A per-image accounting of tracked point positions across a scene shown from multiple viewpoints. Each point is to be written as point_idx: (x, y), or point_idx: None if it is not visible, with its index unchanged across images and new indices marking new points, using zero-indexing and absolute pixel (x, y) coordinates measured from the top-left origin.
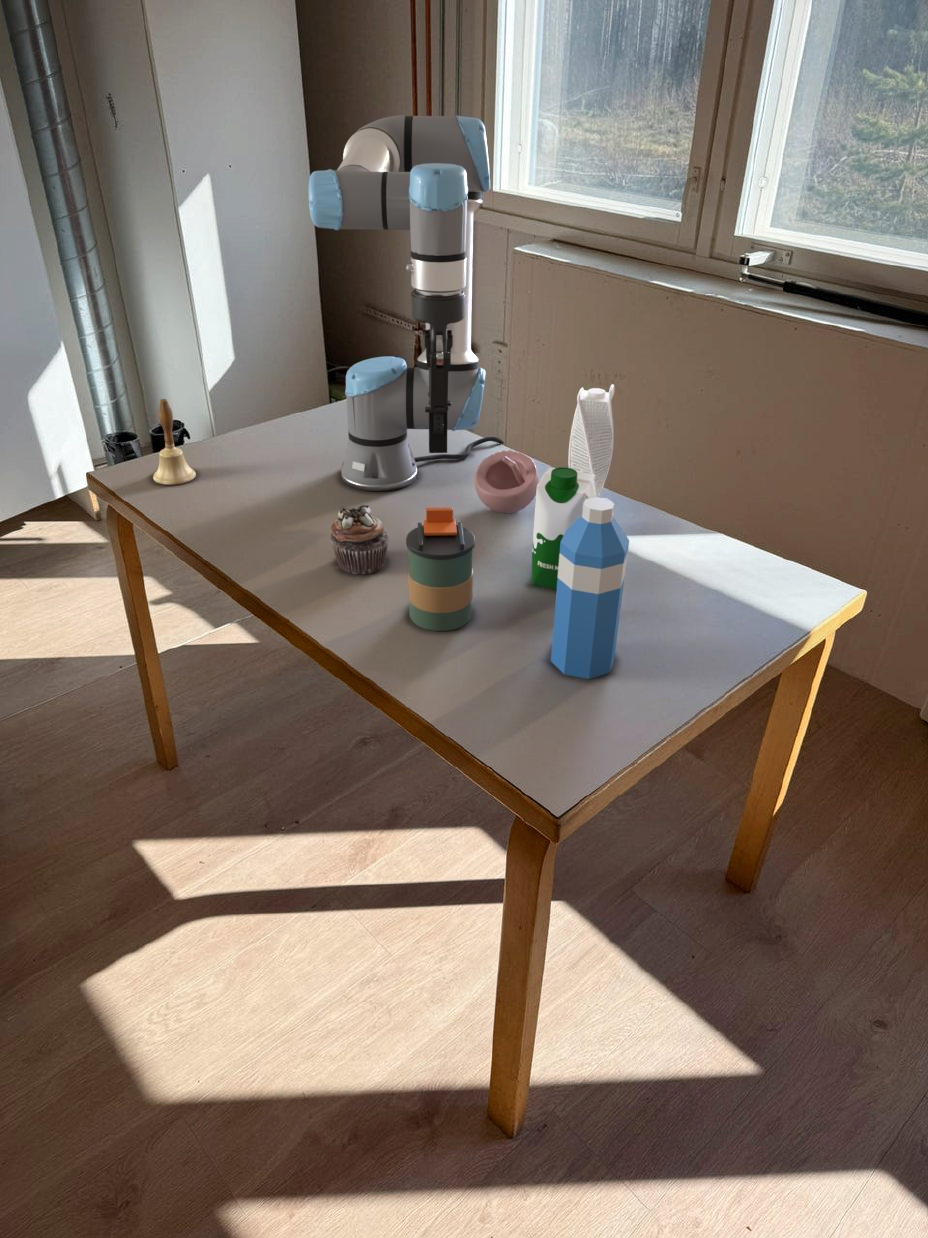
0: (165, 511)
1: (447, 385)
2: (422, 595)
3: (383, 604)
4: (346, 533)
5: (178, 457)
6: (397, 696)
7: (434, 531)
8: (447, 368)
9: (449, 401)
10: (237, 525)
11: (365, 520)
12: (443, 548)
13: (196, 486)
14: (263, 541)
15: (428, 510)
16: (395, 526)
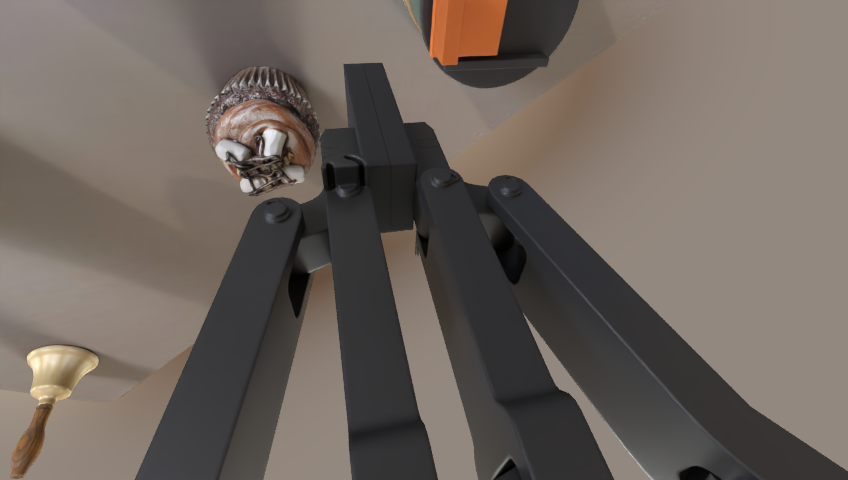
0: (176, 335)
1: (636, 294)
2: None
3: (403, 61)
4: (308, 166)
5: (57, 382)
6: (627, 32)
7: (496, 30)
8: (741, 403)
9: (326, 171)
10: (187, 273)
11: (281, 147)
12: (549, 4)
13: (81, 335)
14: (226, 239)
15: (457, 59)
16: (75, 49)
